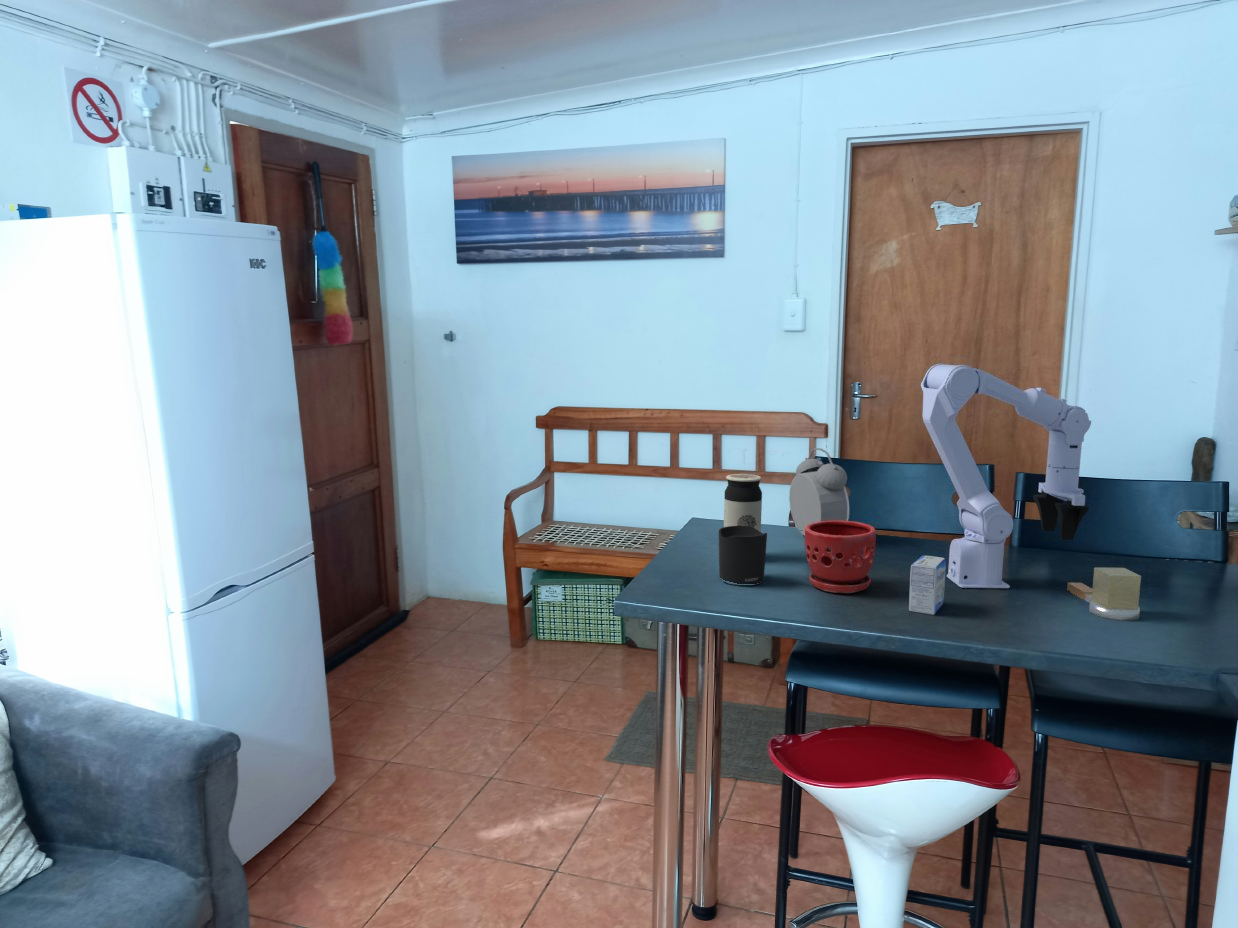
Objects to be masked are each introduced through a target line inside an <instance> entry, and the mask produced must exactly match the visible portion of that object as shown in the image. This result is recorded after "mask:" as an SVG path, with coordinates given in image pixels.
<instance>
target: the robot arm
mask: <svg viewBox="0 0 1238 928" xmlns="http://www.w3.org/2000/svg"><path fill="white" fill-rule="evenodd" d="M920 387H921V390H922V393H923V394H922V395H923V397H922V421H923V424H924V426H925V428H926V430H927V432H928V434H929V436H930V438H931V440H932V442H933V445H934V447H935V449H936V450H937V453H938V455H939V457H940V459H941V462H942V464H943V466H944V468H945V470H946V471H947V474H948V476H949V478H950V481H951V482H952V484H953V485H952V486H953V487H954V489H955V491H956V494H957V495H958V498H959V499H958V500H957V502H956V505H957V508H958V513H959V514H958V518H959V523H960V526H961V527H962V528H963V529H964V536H963V537H962V538H954V539H952V541H950V542H951V543H950V545H949V556H948V568H947V569H948V571H947V572H948V573H947V574H946V578H948V579H949V580H950V581H952V582H953V583H954V584H956V585H957V586H958V587H960V588H961V589H962V588H965V589H967V588H968V589H969V588H970V589H1009V588H1010V587H1011V585H1009V584H1008V583H1007V582H1005V581H1004V580H1003V569H1004V568H1003V567H1004V566H1003V565H1004V554H1005V553H1004V552H1005V543H1006V539H1007V538H1008V537H1010V535H1011V534H1012V532H1013V530H1014V519H1013V516H1012V515H1011V513H1009V512H1008V511H1006V510H1005V509H1004V508H1003V507H1002V504H1001V503H1000V501H999V500H998V498H996V497H995V496H994V494H992V493H991V492H990V491H989V489H988V487H987V485H986V482H985V480H984V479H983V476H982V474H981V472H980V470H979V468H978V466H977V464H976V461H975V459H974V457H973V455H972V452H971V451H970V448H969V446H968V444H967V442H966V440H965V438H964V436H963V433H962V432H961V430H960V427H959V425H958V423H957V421H956V418H957V416H958V415H959V412H960V410H961V409H962V408H963V407H964V406H965V405H966V404H967V402H968V401H969V400H970V399H971V398H972V396H973V395H981V394H983V395H986V396H989V397H992V398H994V399H996V400H998V401H999V400H1000V401H1001V402H1004V403H1006V404H1010V405H1012V406H1014V409H1015V412H1016V414H1017V415H1018V416H1019V417H1022V418H1024V419H1027V420H1029V421H1031V422H1032V423H1035V424H1038V425H1040V426H1042V427H1044V428H1045V429H1046V431H1047V432H1049V434H1048V443H1047V444H1048V445H1047V446H1048V447H1047V457H1046V458H1047V460H1046V469H1045V470H1046V471H1045V482H1038V490H1037V491H1038V493H1039V494H1033V496H1032V499H1033V500H1034V502H1035V504H1036V508H1037V510H1038V513H1039V514H1038V515H1039V517H1040V518H1039V519H1040V525H1041V529H1042V531H1044V532H1045V531H1047V532H1054V531H1055V530H1056V527H1057V526H1056V525H1057V522H1058V520H1059V522H1058V523H1059V535H1060V540H1063V541H1068V540H1069V541H1073V540H1074V539H1075V536H1076V533H1077V530H1078V528H1079V526H1080V523H1081V521H1082V520H1083V518H1084V516H1085V515H1086V514H1087V513H1088V511H1089V510H1090V509H1089V508H1090V506H1089V505H1087V504H1086V495H1084V489H1082V488H1079V481H1080V480H1079V479H1080V478H1079V477H1080V468H1081V457H1082V456H1081V455H1082V447H1083V446H1082V445H1083V442H1084V441H1085V439H1084V438H1085V435H1086V433H1087V432H1088V431H1089V430H1090V428H1091V425H1092V420H1090V417H1089V414H1088V413H1087V412H1086V410H1085V409H1084V408H1083V407H1081V406H1077V405H1070V404H1068V400H1066V399H1065V398H1061V397H1060V398H1056V397H1054V396H1052V395H1051V394H1050V395H1049V394H1048V393H1046V392H1047V389H1045V388H1043V387H1035V388H1033V387H1032V388H1027V389H1025V390H1023V389H1021V388H1018V387H1017V386H1015V385H1012V384H1010V383H1009V382H1006V381H1004V380H1002V379H1000V378H999V377H996V376H994V375H992V374H991V373H989V372H987V371H985V370H982V369H979V368H973V367H971V366H970V365H965V364H958V365H957V364H956V365H955V364H946V363H937V364H933V365H932V366H931V367H930V368H928V370H927V371H926V373H925V375H924V377H923V380H922V381H921V383H920Z"/></svg>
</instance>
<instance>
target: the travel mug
mask: <svg viewBox="0 0 1238 928" xmlns="http://www.w3.org/2000/svg"><path fill="white" fill-rule="evenodd" d="M725 478H726V481H727V486H726V488H725V490H724V501H723V503H724V505H723V506H724V507H723V509H724V510H723V527H728V526H749V527H753V528H755V529H757V530H758V531H760V532H761V533H762V511H763V510H762V509H763V502H762V501H763V491H762V489H761V487H760V482H761V480H762V476H760V475H756V474H751V473H749V474H748V473H733V474H728V475H726V476H725Z"/></svg>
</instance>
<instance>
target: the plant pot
mask: <svg viewBox="0 0 1238 928" xmlns="http://www.w3.org/2000/svg"><path fill="white" fill-rule="evenodd" d="M876 538H877V537H876V529H875V527H874V526H872V525H870V524H866V523H864V522H860V521H859V522H858V521H850V520H848V521H835V520H832V521H821V522H815V523H812V524H809V525H807V526H806V527H805V536H804V547H805V555H806V556H805V557H806V560H807V563H808V566H809V568H810V569H809V570H810V571H811V572H810V573H809V575H808V580H809V582H810V584H812V586H814V587H815V588H817V589H819V590H821V591H824V592H828V593H835V594H848V595H851V594H852V593H853V594H854V593H860V592H862V591H864V590H866V589H867V588H868V587H869V586H870V585H871V583H872V579H871V577H870V575H868V574H869V572H870V570H871V568H872V565H873V563H874V559H875V553H876V541H877V539H876ZM862 553H863V554H862Z"/></svg>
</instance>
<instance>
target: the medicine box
mask: <svg viewBox="0 0 1238 928" xmlns="http://www.w3.org/2000/svg"><path fill="white" fill-rule="evenodd" d="M946 563H947V558H945V557H940V556H933V555H921V556H920V557H919V558H918V559H917V560H916V561H914V562H913V563H912V564H911V566H910V573H909V574H910V576H909V596H908V597H909V599H908V600H909V601H908V611H909V612H912V613H917V614H923V615H931V616H935V614H936V613H937V612H938V611H939V609H940V608H941V607H942V605H944V601H945V585H946V582H945V581H946V569H947V567H946V566H947V565H946Z"/></svg>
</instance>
